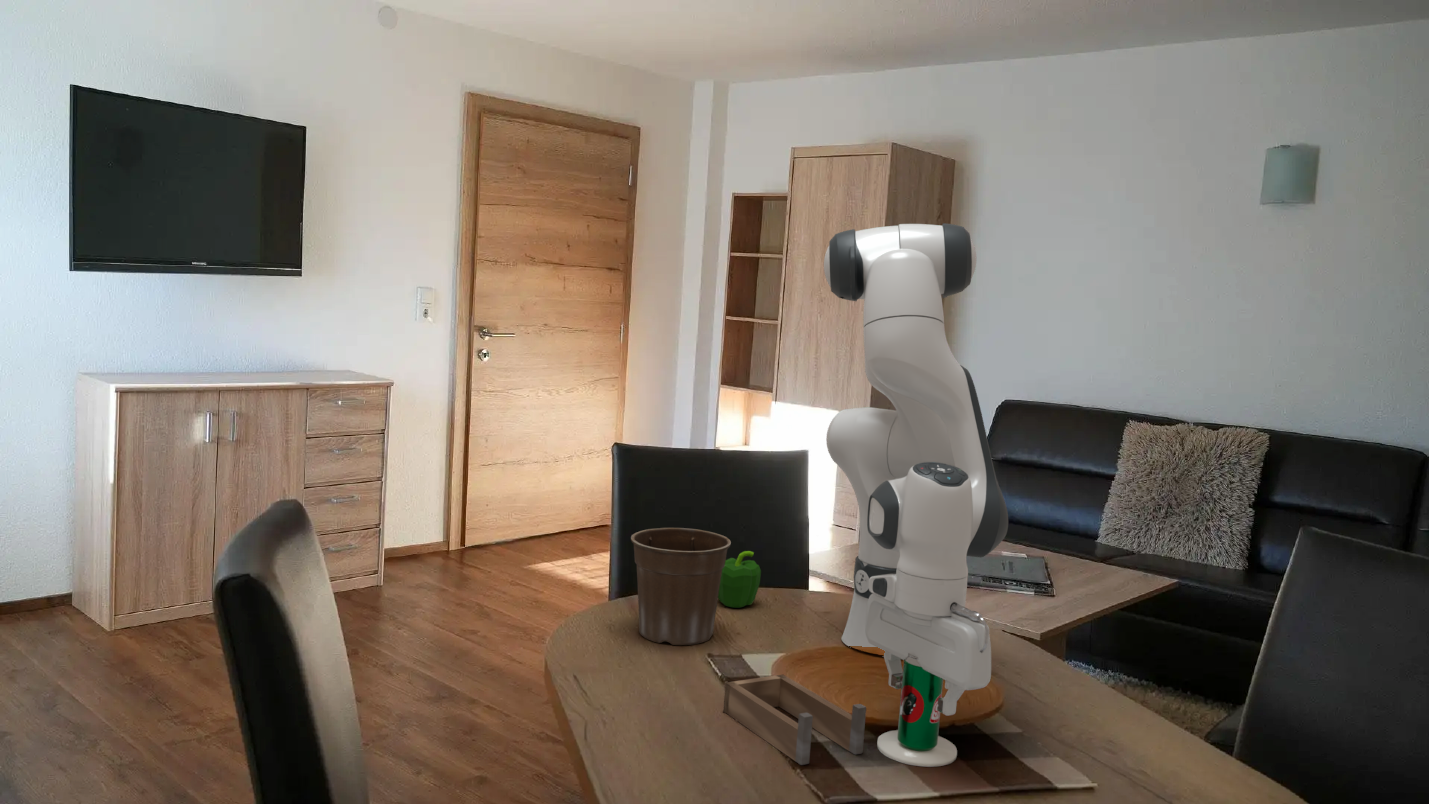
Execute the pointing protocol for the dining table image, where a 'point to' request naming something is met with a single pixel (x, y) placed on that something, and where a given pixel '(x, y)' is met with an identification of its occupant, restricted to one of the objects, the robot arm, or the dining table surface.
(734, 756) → the dining table surface
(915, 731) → the soda can
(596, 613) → the dining table surface
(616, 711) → the dining table surface
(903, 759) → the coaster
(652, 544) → the plant pot
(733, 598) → the bell pepper
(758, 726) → the dispenser
